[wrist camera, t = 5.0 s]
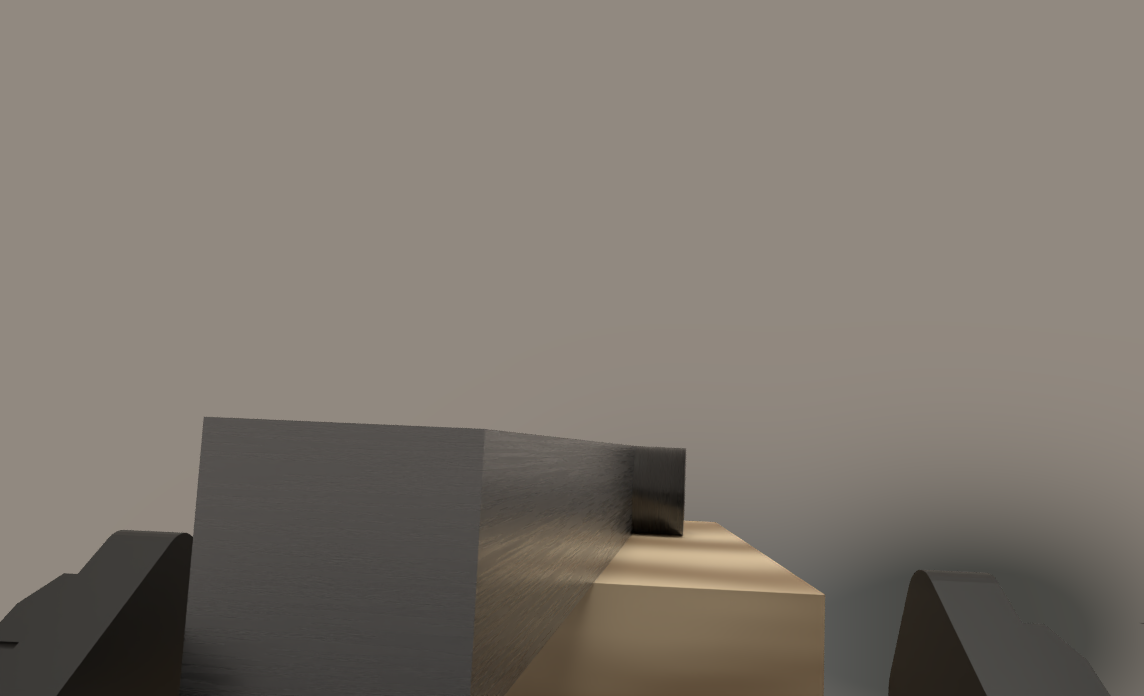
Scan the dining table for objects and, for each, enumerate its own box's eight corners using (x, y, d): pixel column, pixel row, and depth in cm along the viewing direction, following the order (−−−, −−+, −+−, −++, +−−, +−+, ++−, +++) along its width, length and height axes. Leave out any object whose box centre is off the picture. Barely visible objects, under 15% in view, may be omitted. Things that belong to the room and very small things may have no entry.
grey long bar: (645, 758, 8) (658, 436, 8) (22, 700, 9) (53, 410, 9) (683, 530, 32) (686, 448, 32) (513, 520, 32) (517, 441, 33)
